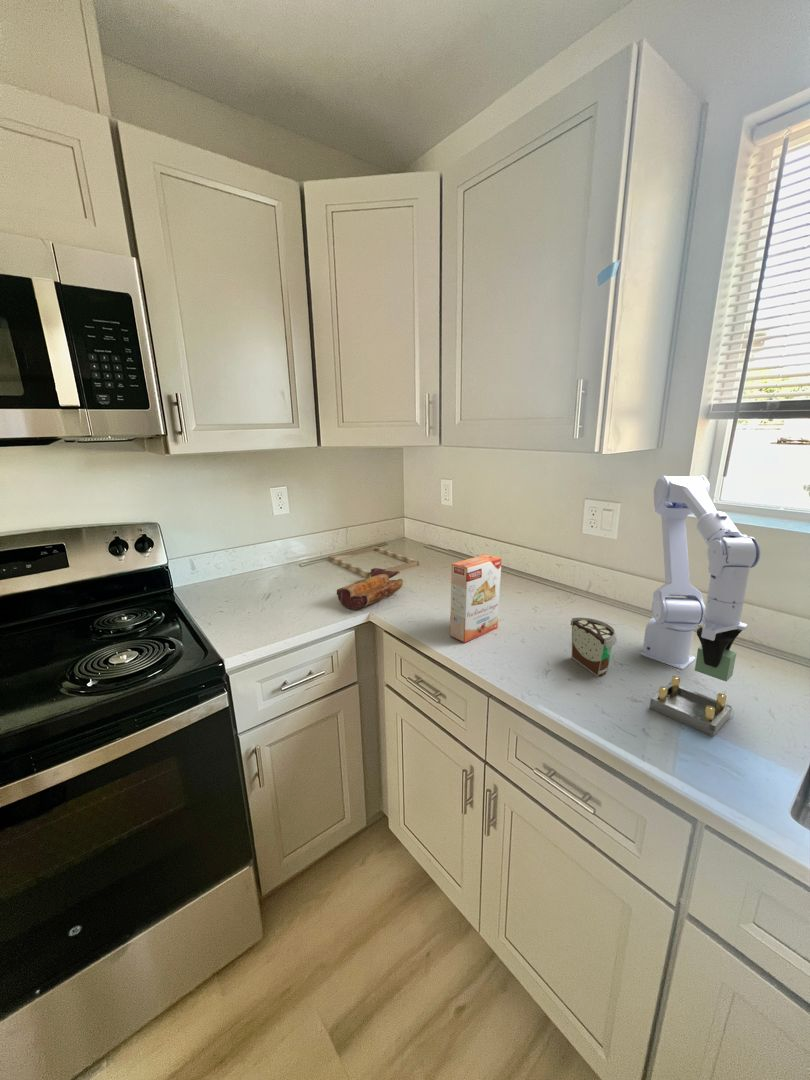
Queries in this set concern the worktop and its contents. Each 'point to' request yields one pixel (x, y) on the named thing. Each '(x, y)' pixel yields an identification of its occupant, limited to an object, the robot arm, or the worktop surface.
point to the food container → (592, 644)
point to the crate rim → (363, 572)
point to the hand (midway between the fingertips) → (714, 661)
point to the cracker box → (475, 597)
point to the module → (721, 670)
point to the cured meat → (369, 589)
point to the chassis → (691, 707)
